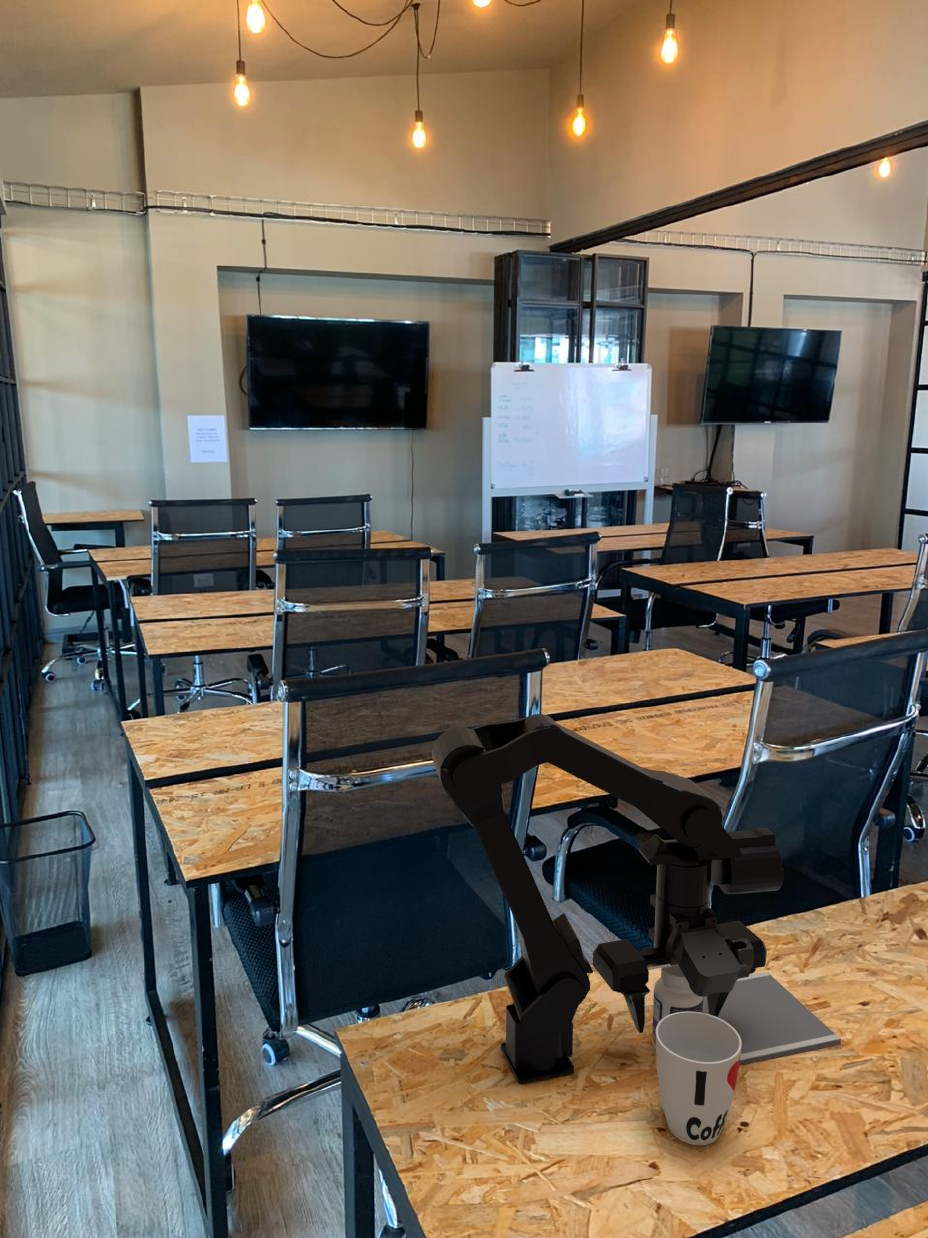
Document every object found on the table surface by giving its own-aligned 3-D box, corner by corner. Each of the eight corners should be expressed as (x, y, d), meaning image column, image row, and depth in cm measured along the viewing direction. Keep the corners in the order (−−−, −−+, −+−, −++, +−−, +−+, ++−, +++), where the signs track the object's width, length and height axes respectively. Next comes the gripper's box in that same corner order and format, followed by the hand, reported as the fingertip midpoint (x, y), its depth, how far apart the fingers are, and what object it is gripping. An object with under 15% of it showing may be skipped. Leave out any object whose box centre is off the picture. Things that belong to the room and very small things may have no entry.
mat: (731, 1067, 101) (732, 1061, 101) (668, 994, 114) (668, 989, 114) (840, 1044, 105) (841, 1038, 104) (767, 976, 118) (767, 971, 118)
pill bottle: (708, 1044, 105) (713, 965, 103) (687, 1068, 101) (691, 987, 99) (665, 1025, 108) (669, 949, 106) (642, 1048, 104) (646, 969, 102)
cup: (684, 1167, 87) (689, 1073, 85) (636, 1111, 94) (639, 1023, 92) (753, 1142, 90) (759, 1050, 88) (701, 1089, 97) (705, 1003, 95)
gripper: (639, 946, 91) (634, 1087, 94) (802, 918, 96) (792, 1053, 99) (592, 894, 101) (588, 1022, 104) (741, 871, 106) (734, 994, 109)
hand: (676, 1024), depth 104 cm, fingers open, 9 cm apart
